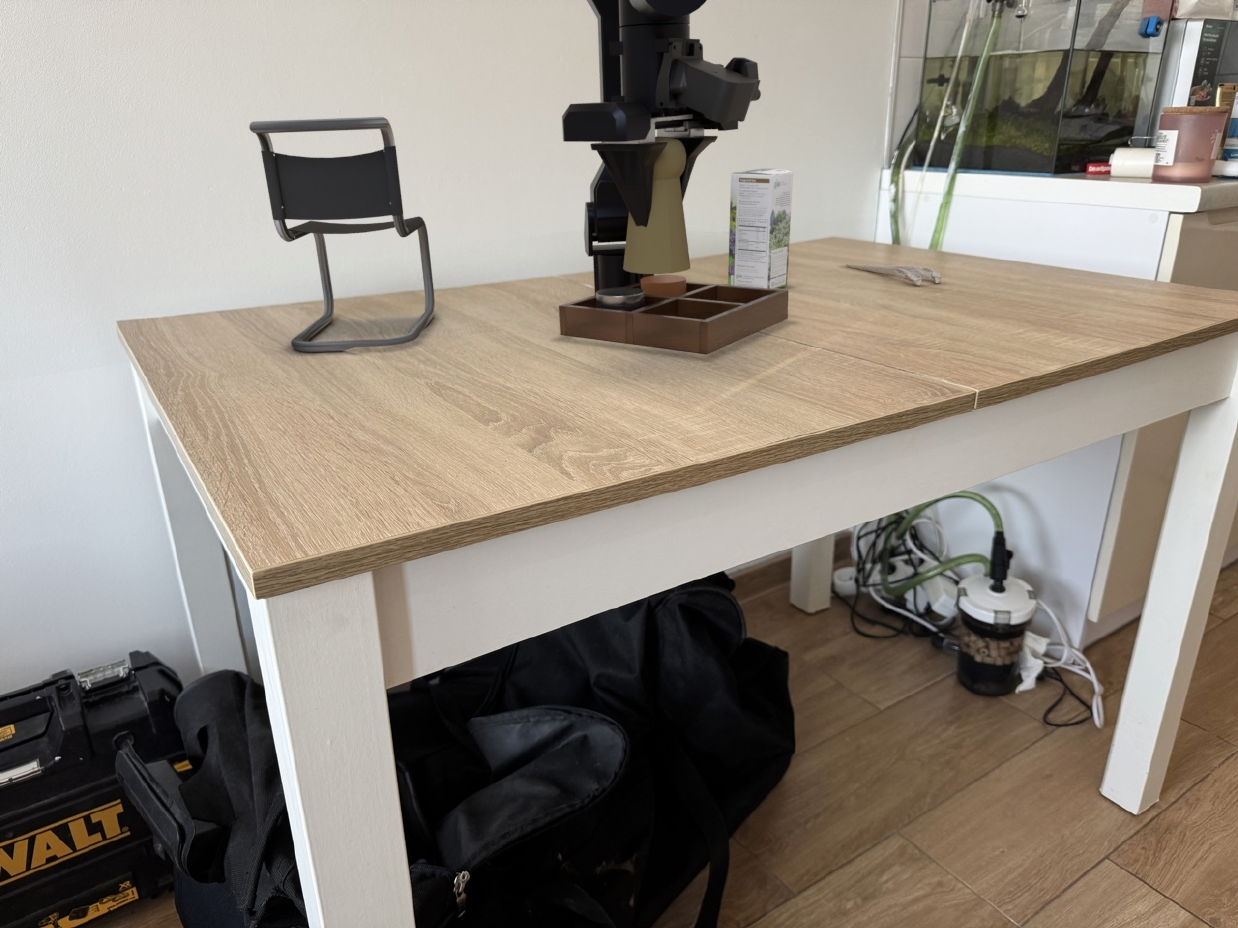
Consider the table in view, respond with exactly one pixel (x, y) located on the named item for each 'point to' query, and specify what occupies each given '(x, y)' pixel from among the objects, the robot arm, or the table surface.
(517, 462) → the table surface
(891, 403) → the table surface
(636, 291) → the tin
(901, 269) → the grey long forked piece
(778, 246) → the syrup box
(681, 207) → the olive peg figure
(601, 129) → the robot arm
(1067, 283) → the table surface
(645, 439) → the table surface
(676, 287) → the tin
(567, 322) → the tray
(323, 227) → the chair
